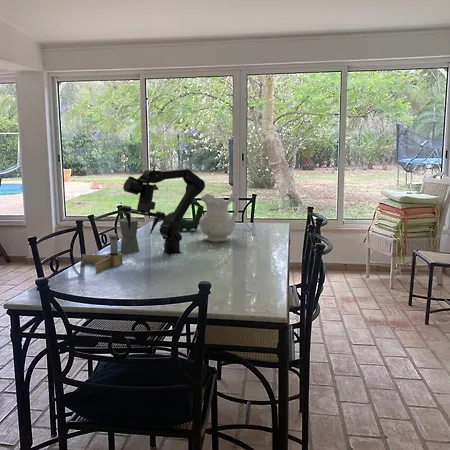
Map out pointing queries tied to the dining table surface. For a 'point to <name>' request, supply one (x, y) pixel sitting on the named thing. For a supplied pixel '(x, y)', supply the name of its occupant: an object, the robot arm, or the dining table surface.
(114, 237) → the hinge pin
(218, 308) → the dining table surface
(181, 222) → the toy figurine
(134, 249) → the coffeepot
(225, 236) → the ceramic pitcher
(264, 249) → the dining table surface
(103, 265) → the hinge
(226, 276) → the dining table surface
